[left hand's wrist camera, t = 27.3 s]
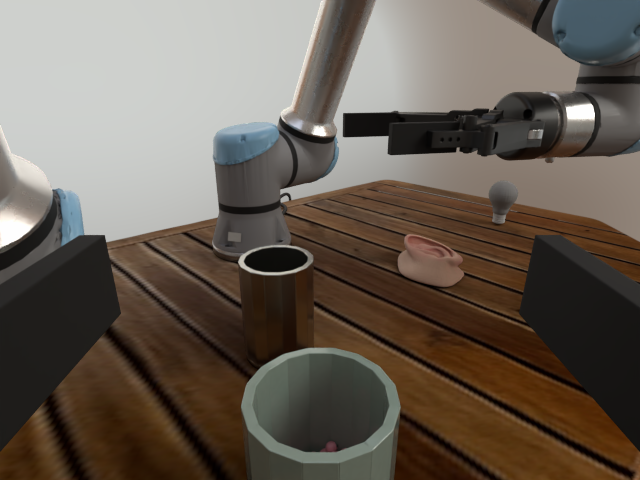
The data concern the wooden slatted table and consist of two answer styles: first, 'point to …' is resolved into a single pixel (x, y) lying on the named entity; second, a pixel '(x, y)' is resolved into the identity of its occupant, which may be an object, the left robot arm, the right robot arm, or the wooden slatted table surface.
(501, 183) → the light bulb
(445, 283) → the anatomical model
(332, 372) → the pot
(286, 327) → the tumbler
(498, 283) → the wooden slatted table surface
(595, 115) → the right robot arm
